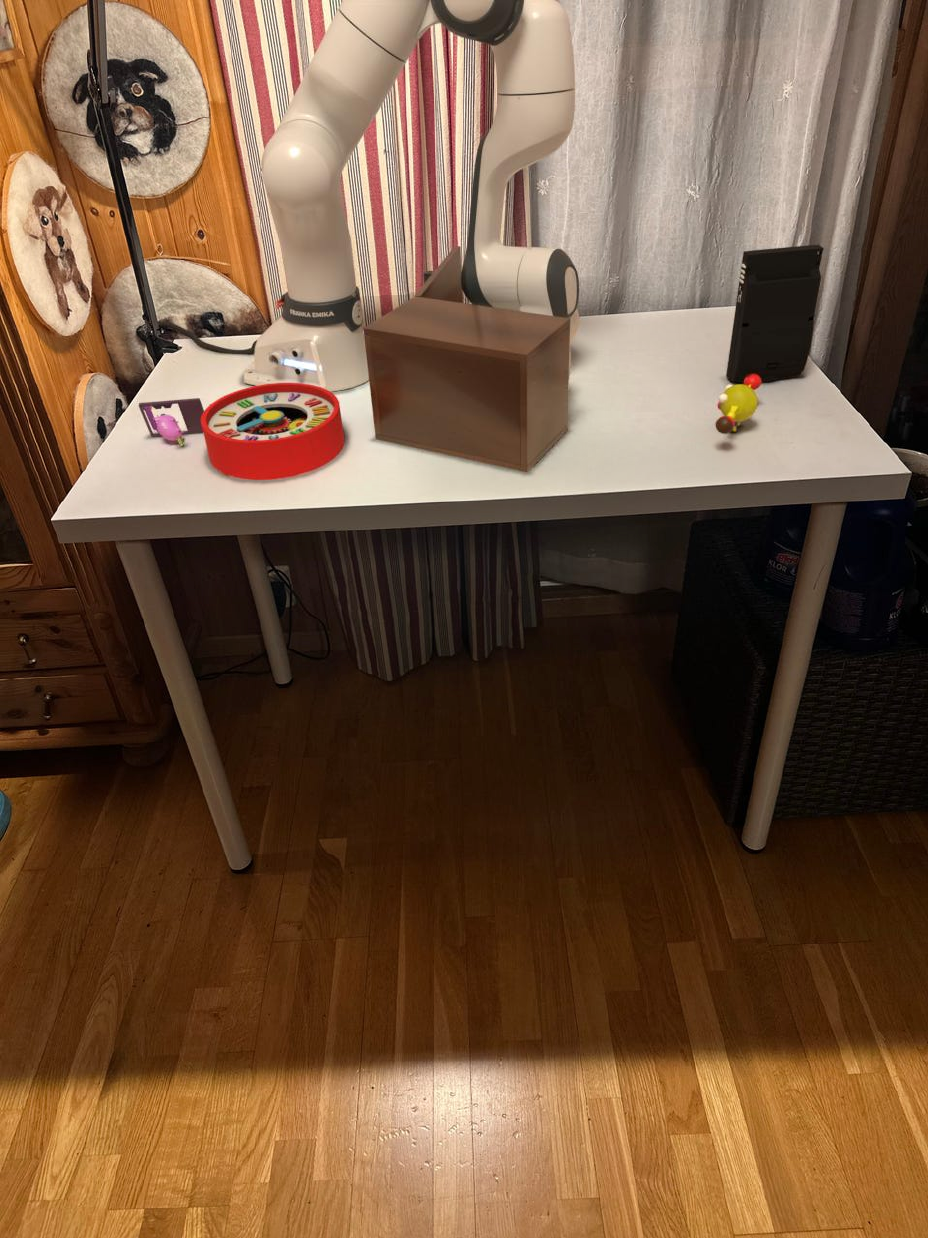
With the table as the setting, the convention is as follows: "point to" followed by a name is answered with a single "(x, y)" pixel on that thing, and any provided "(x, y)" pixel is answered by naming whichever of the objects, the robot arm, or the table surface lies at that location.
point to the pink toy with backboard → (168, 424)
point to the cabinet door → (444, 279)
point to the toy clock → (273, 431)
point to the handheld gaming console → (774, 313)
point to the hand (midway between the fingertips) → (478, 387)
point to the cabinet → (469, 380)
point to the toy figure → (737, 403)
